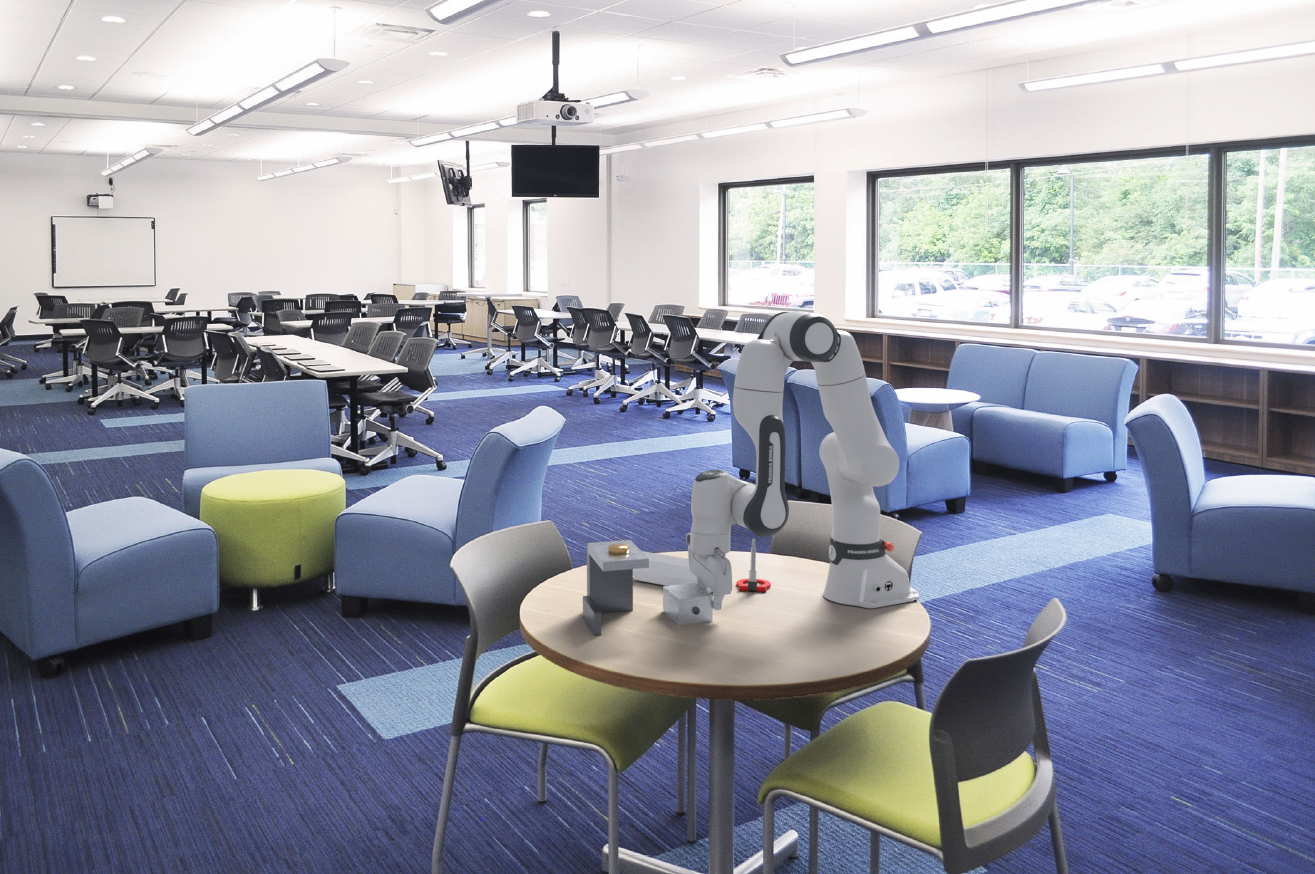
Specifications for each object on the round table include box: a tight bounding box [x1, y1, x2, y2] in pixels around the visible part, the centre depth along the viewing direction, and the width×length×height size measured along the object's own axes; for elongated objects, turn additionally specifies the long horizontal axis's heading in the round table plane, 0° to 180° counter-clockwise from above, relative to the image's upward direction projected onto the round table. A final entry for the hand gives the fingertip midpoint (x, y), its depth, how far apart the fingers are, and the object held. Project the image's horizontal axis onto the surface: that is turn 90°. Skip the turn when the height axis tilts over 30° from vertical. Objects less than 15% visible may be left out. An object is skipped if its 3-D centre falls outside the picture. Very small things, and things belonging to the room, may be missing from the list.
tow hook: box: [735, 538, 772, 593], centre depth 259 cm, size 8×13×9 cm
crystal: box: [633, 550, 713, 594], centre depth 261 cm, size 7×7×24 cm
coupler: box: [582, 539, 649, 637], centre depth 233 cm, size 12×17×17 cm
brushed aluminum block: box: [662, 583, 714, 626], centre depth 237 cm, size 8×10×6 cm
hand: (709, 602), depth 238 cm, fingers open, 8 cm apart
